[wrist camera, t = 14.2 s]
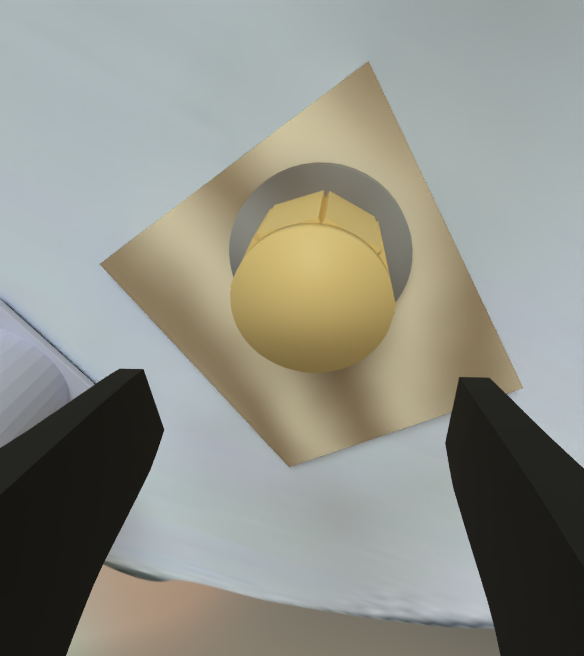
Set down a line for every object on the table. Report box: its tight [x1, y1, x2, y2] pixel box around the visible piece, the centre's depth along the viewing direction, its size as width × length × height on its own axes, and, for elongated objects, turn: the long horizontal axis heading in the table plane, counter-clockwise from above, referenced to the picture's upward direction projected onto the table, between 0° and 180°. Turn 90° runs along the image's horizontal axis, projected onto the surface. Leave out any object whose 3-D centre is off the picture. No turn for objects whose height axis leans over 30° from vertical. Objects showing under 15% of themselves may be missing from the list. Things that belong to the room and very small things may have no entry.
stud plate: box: [100, 61, 523, 467], centre depth 18 cm, size 14×16×3 cm
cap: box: [230, 190, 396, 373], centre depth 15 cm, size 5×5×4 cm
